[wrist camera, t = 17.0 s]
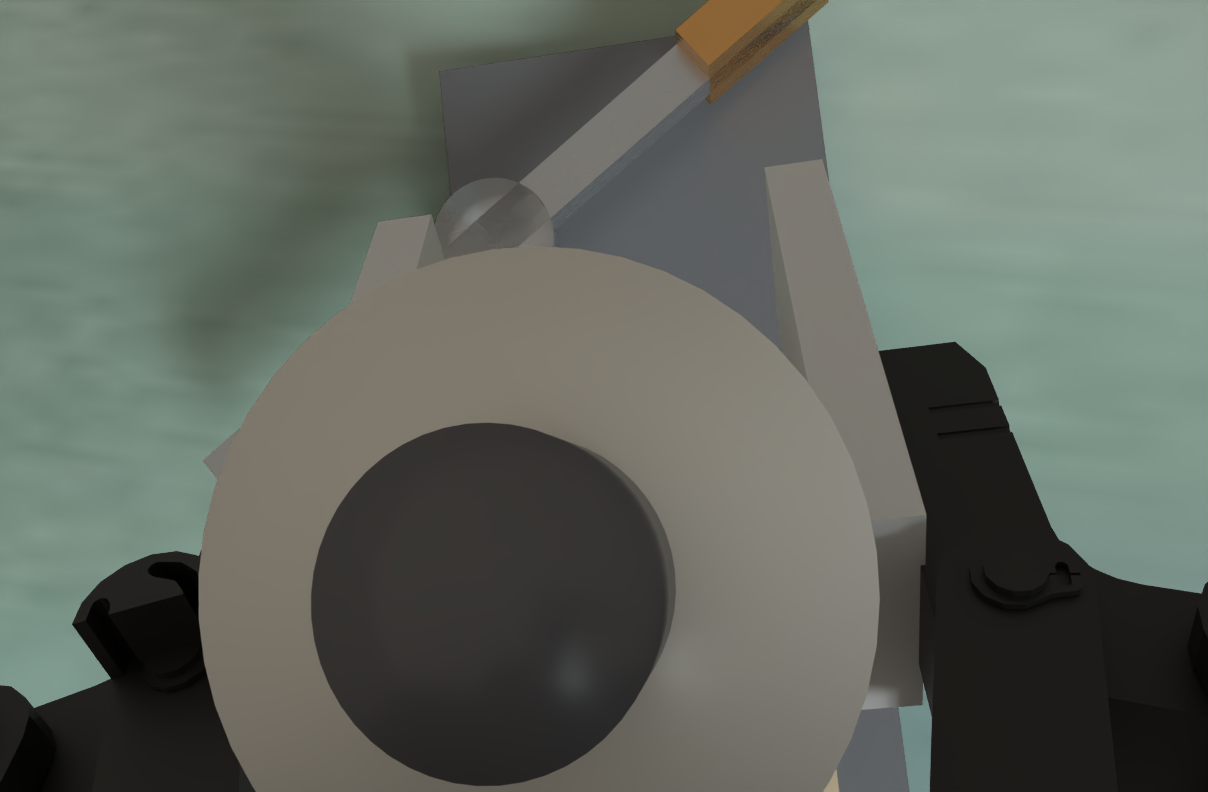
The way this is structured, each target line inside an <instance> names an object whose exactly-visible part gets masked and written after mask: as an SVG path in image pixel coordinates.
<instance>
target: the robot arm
mask: <svg viewBox="0 0 1208 792" xmlns="http://www.w3.org/2000/svg"><path fill="white" fill-rule="evenodd" d="M764 169H765V181H766V193H767V205H768V217H769V229H770V241H771V253H772V265H773V276H774V288H775V300H776V312H777V324H778V334H779V340H780V345H781V351H782V353H783V354H784V355H785V357H786V358H787V359H788V360H789V361H790V362H791V363H792V364H793V366H794V367H795V368H796V369H797V370H798V371H799V372H800V374H801V375H802V376H803V377H804V378H805V379H806V381H807V382H808V384H809V385H810V387H811V388H812V390H813V391H814V393H815V394H816V396H817V397H818V399H819V400H820V402H821V403H822V405H823V406H824V407H825V409H826V410H827V412H828V413H829V415H830V416H831V418H832V420H833V422H834V424H835V426H836V428H837V430H838V432H839V434H840V436H841V438H842V440H843V442H844V444H845V446H846V448H847V450H848V452H849V454H850V456H851V458H852V461H853V463H854V466H855V469H856V472H857V475H858V478H859V481H860V484H861V487H862V490H863V493H864V496H865V499H866V502H867V505H868V510H869V515H870V520H871V525H872V530H873V535H874V540H875V545H876V550H877V562H878V578H879V593H880V604H879V619H878V634H877V647H876V652H875V657H874V662H873V667H872V672H871V677H870V682H869V687H868V692H867V695H866V698H865V701H864V704H863V707H862V710H867V709H879V708H891V707H903V706H915V705H922V700H923V683H924V687H925V691H926V695H927V699H928V703H929V707H930V711H931V715H932V738H931V770H930V792H1208V582H1207V583H1206V584H1205V586H1204V589H1203V592H1202V594H1200V593H1194V592H1187V591H1181V590H1174V589H1167V588H1161V587H1154V586H1148V585H1142V584H1138V583H1133V582H1129V581H1125V580H1121V579H1117V578H1115V577H1112V576H1110V575H1107V574H1105V573H1103V572H1100V571H1098V570H1095V569H1093V568H1092V567H1090V566H1089V565H1088V564H1087V563H1086V562H1085V561H1084V560H1083V559H1082V558H1081V557H1080V556H1079V555H1078V554H1077V553H1076V552H1075V551H1074V550H1073V549H1072V548H1071V547H1070V546H1069V545H1068V544H1066V543H1064V542H1062V541H1060V540H1059V539H1058V538H1057V536H1056V534H1055V533H1054V531H1053V529H1052V528H1051V526H1050V523H1049V521H1048V518H1047V516H1046V514H1045V511H1044V509H1043V506H1042V504H1041V501H1040V499H1039V496H1038V494H1037V492H1036V489H1035V487H1034V484H1033V482H1032V479H1031V477H1030V475H1029V472H1028V470H1027V467H1026V465H1025V462H1024V460H1023V458H1022V455H1021V453H1020V450H1019V448H1018V445H1017V443H1016V441H1015V438H1014V436H1013V433H1012V432H1010V429H1009V424H1008V421H1007V419H1006V416H1005V414H1004V411H1003V409H1002V407H1001V406H999V399H998V397H997V394H996V392H995V390H994V387H993V385H992V382H991V380H990V377H989V375H988V372H987V370H986V368H985V367H984V366H983V365H982V364H981V363H979V362H978V361H977V360H976V359H975V358H974V357H972V356H971V355H970V354H969V353H968V352H967V351H965V350H964V349H963V348H962V347H961V346H959V345H958V344H957V343H956V342H950V343H942V344H933V345H925V346H917V347H909V348H900V349H892V350H884V351H878V348H877V344H876V341H875V338H874V334H873V331H872V327H871V324H870V321H869V317H868V314H867V310H866V307H865V304H864V300H863V297H862V293H861V290H860V287H859V283H858V280H857V276H856V273H855V270H854V266H853V263H852V259H851V256H850V253H849V249H848V246H847V242H846V239H845V235H844V232H843V229H842V225H841V222H840V218H839V215H838V212H837V208H836V205H835V201H834V198H833V195H832V191H831V188H830V184H829V181H828V178H827V174H826V171H825V167H824V164H823V161H822V159H820V160H812V161H805V162H798V163H791V164H784V165H777V166H770V167H764ZM443 260H445V258H444V255H443V251H442V248H441V245H440V241H439V238H438V235H437V231H436V228H435V225H434V221H433V218H432V215H431V214H430V215H423V216H416V217H409V218H402V219H395V220H388V221H381V222H378V224H377V227H376V230H375V233H374V236H373V238H372V241H371V244H370V247H369V250H368V253H367V256H366V259H365V262H364V265H363V267H362V270H361V273H360V276H359V279H358V282H357V285H356V288H355V291H354V294H353V296H352V299H351V302H350V305H351V304H352V303H354V302H355V301H357V300H359V299H360V298H362V297H363V296H365V295H366V294H368V293H369V292H371V291H372V290H374V289H376V288H378V287H380V286H382V285H384V284H386V283H388V282H390V281H392V280H394V279H396V278H398V277H401V276H403V275H405V274H407V273H409V272H411V271H414V270H417V269H420V268H422V267H425V266H428V265H431V264H434V263H437V262H440V261H443ZM201 551H202V550H201ZM200 559H201V552H200V555H199V556H197V555H192V554H187V553H183V552H178V551H175V552H168V553H160V554H152V555H149V556H147V557H144V558H142V559H139V560H137V561H134V562H132V563H129V564H127V565H125V566H123V567H122V568H120V569H119V570H117V571H116V572H114V573H113V574H112V575H110V576H109V577H107V578H106V579H104V580H103V581H101V582H100V583H99V584H98V585H97V586H96V588H95V589H94V590H93V591H92V592H91V593H90V594H89V595H88V596H87V598H86V599H85V600H84V601H83V602H82V604H81V606H80V608H79V610H78V612H77V615H76V617H75V619H74V621H73V623H72V625H73V626H74V628H75V629H76V630H77V632H78V633H79V635H80V636H81V637H82V639H83V640H84V642H85V643H86V644H87V646H88V647H89V648H90V650H91V651H92V653H93V654H94V655H95V657H96V658H97V660H98V661H99V662H100V664H101V665H102V667H103V668H104V669H105V671H106V672H107V673H108V675H109V676H110V678H111V679H109V680H107V681H105V682H103V683H100V684H98V685H96V686H93V687H91V688H88V689H85V690H83V691H80V692H77V693H74V694H72V695H69V696H66V697H63V698H61V699H58V700H55V701H52V702H50V703H47V704H44V705H41V706H39V707H36V708H33V706H32V705H31V704H30V703H29V701H28V700H27V699H26V698H25V697H24V696H23V695H22V694H20V693H19V692H18V691H16V690H15V689H14V688H12V687H10V686H1V685H0V792H256V791H255V790H254V788H253V787H252V785H251V783H250V781H249V779H248V777H247V776H246V774H245V772H244V770H243V768H242V766H241V765H240V763H239V761H238V759H237V757H236V755H235V753H234V752H233V750H232V748H231V745H230V743H229V740H228V738H227V735H226V733H225V730H224V728H223V725H222V722H221V720H220V717H219V715H218V712H217V710H216V707H215V704H214V700H213V696H212V692H211V688H210V684H209V680H208V676H207V672H206V668H205V664H204V657H203V649H202V641H201V633H200V625H199V567H200Z"/></svg>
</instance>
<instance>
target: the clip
mask: <svg viewBox="0 0 1208 792" xmlns="http://www.w3.org/2000/svg"><path fill="white" fill-rule="evenodd" d="M827 3H828V0H709V1H708V2H706V3H705V4H704V5H703V6H702V7H701V8H700V9H698V10H697V11H696V12H695V13H694V14H693V15H692V16H691V17H689V18H688V19H687V20H686V21H685V22H684V23H683V24H681V25H680V26H679V27H678V28H677V29H676V30H675V32H676V41H677V44H676V45H675V46H674V47H673V48H672V49H671V50H669V51H668V52H667V53H666V54H665V55H664V56H663V57H661V58H660V59H659V60H658V61H657V62H656V63H655V64H653V65H652V66H651V67H650V68H649V69H648V70H647V71H645V72H644V73H643V74H642V75H641V76H640V77H639V78H638V79H636V80H635V81H634V82H633V83H632V84H631V85H630V86H628V87H627V88H626V89H625V90H624V91H623V92H622V93H620V94H619V95H618V96H617V97H616V98H615V99H614V100H613V101H611V102H610V103H609V104H608V105H607V106H606V107H605V108H603V109H602V110H601V111H600V112H599V113H598V114H597V115H595V116H594V117H593V118H592V119H591V120H590V121H589V122H587V123H586V124H585V125H584V126H583V127H582V128H581V129H580V130H578V131H577V132H576V133H575V134H574V135H573V136H572V137H570V138H569V139H568V140H567V141H566V142H565V143H564V144H562V145H561V146H560V147H559V148H558V149H557V150H556V151H555V152H553V153H552V154H551V155H550V156H549V157H548V158H547V159H545V160H544V161H543V162H542V163H541V164H540V165H539V166H537V167H536V168H535V169H534V170H533V171H532V172H531V173H529V174H528V175H527V176H526V177H525V178H524V179H523V180H522V181H520V182H519V183H518V182H515V181H513V180H509V179H504V178H486V179H481V180H477V181H474V182H472V183H469V184H467V185H465V186H463V187H462V188H460V189H459V190H458V191H456V192H455V193H454V194H453V195H452V196H451V197H450V198H449V199H448V200H447V201H446V202H445V204H444V205H443V207H442V208H441V210H440V212H439V214H438V216H437V218H436V221H435V224H434V225H435V228H436V231H437V235H438V238H439V241H440V245H441V248H442V251H443V255H444V258H445V260H446V259H449V258H452V257H457V256H462V255H467V254H472V253H477V252H482V251H487V250H491V249H503V248H517V247H531V246H542V247H559V237H558V232H557V228H558V227H559V226H560V225H561V224H562V223H563V222H565V221H566V220H567V219H568V218H569V217H570V216H571V215H573V214H574V213H575V212H576V211H577V210H578V209H579V208H581V207H582V206H583V205H584V204H585V203H586V202H587V201H589V200H590V199H591V198H592V197H593V196H594V195H595V194H597V193H598V192H599V191H600V190H601V189H602V188H603V187H605V186H606V185H607V184H608V183H609V182H610V181H611V180H612V179H614V178H615V177H616V176H617V175H618V174H619V173H620V172H622V171H623V170H624V169H625V168H626V167H627V166H628V165H630V164H631V163H632V162H633V161H634V160H635V159H636V158H638V157H639V156H640V155H641V154H642V153H643V152H644V151H646V150H647V149H648V148H649V147H650V146H651V145H652V144H654V143H655V142H656V141H657V140H658V139H659V138H660V137H662V136H663V135H664V134H665V133H666V132H667V131H668V130H669V129H671V128H672V127H673V126H674V125H675V124H676V123H677V122H679V121H680V120H681V119H682V118H683V117H684V116H685V115H687V114H688V113H689V112H690V111H691V110H692V109H693V108H695V107H696V106H697V105H698V104H699V103H700V102H701V101H703V100H704V99H705V100H706V101H707V102H708V103H709V104H710V105H712V104H713V103H714V102H715V101H716V100H717V99H718V98H720V97H721V96H722V95H723V94H724V93H725V92H726V91H728V90H729V89H730V88H731V87H732V86H733V85H734V84H736V83H737V82H738V81H739V80H740V79H741V78H742V77H744V76H745V75H746V74H747V73H748V72H749V71H750V70H751V69H753V68H754V67H755V66H756V65H757V64H758V63H759V62H761V61H762V60H763V59H764V58H765V57H766V56H767V55H769V54H770V53H771V52H772V51H773V50H774V49H775V48H777V47H778V46H779V45H780V44H781V43H782V42H783V41H785V40H786V39H787V38H788V37H789V36H790V35H791V34H793V33H794V32H795V31H796V30H797V29H798V28H799V27H801V26H802V25H803V24H804V23H805V22H806V21H807V20H808V19H810V18H811V17H812V16H813V15H814V14H815V13H816V12H818V11H819V10H820V9H821V8H822V7H823V6H824V5H826V4H827ZM239 430H240V428H239V429H238V430H237V431H236V432H235V433H234V434H233V435H231V436H230V437H229V438H228V439H227V440H226V441H225V442H224V443H222V444H221V445H220V446H219V447H218V448H217V449H216V450H214V451H213V452H212V453H211V454H210V455H209V456H208V457H206V458H205V459H204V460H203V462H204V463H205V464H206V465H207V467H208V468H209V469H210V471H211V472H212V473H213V474H214V476H215V477H216V478H217V479H218V478H219V475H220V473H221V470H222V467H223V465H224V462H225V459H226V457H227V454H228V452H229V449H230V447H231V445H232V443H233V441H234V439H235V437H236V435H237V434H238V432H239Z"/></svg>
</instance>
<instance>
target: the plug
mask: <svg viewBox="0 0 1208 792" xmlns="http://www.w3.org/2000/svg"><path fill="white" fill-rule="evenodd" d="M879 604H880V593H879V578H878V562H877V550H876V545H875V540H874V535H873V530H872V525H871V520H870V515H869V510H868V505H867V502H866V499H865V496H864V493H863V490H862V487H861V484H860V481H859V478H858V475H857V472H856V469H855V466H854V463H853V461H852V458H851V456H850V454H849V452H848V450H847V448H846V446H845V444H844V442H843V440H842V438H841V436H840V434H839V432H838V430H837V428H836V426H835V424H834V422H833V420H832V418H831V416H830V415H829V413H828V412H827V410H826V409H825V407H824V406H823V405H822V403H821V402H820V400H819V399H818V397H817V396H816V394H815V393H814V391H813V390H812V388H811V387H810V385H809V384H808V382H807V381H806V379H805V378H804V377H803V376H802V375H801V374H800V372H799V371H798V370H797V369H796V368H795V367H794V366H793V364H792V363H791V362H790V361H789V360H788V359H787V358H786V357H785V355H784V354H783V353H782V352H781V351H780V350H779V349H778V347H777V346H776V345H775V344H774V343H772V342H771V341H770V340H769V339H768V338H767V337H766V336H764V335H763V334H762V333H761V332H760V331H759V330H758V329H756V328H755V327H754V326H753V325H752V324H751V323H750V322H748V321H747V320H746V319H745V318H744V317H743V316H741V315H740V314H739V313H737V312H736V311H734V310H733V309H731V308H729V307H728V306H726V305H725V304H723V303H722V302H720V301H719V300H717V299H716V298H714V297H713V296H711V295H710V294H708V293H707V292H705V291H704V290H702V289H700V288H698V287H696V286H694V285H692V284H690V283H687V282H685V281H683V280H681V279H679V278H677V277H675V276H673V275H671V274H669V273H667V272H665V271H662V270H659V269H656V268H653V267H650V266H647V265H645V264H642V263H639V262H636V261H633V260H630V259H627V258H624V257H619V256H614V255H609V254H604V253H599V252H594V251H588V250H583V249H575V248H559V247H542V246H531V247H517V248H503V249H491V250H487V251H482V252H477V253H472V254H467V255H462V256H457V257H452V258H449V259H446V260H443V261H440V262H437V263H434V264H431V265H428V266H425V267H422V268H420V269H417V270H414V271H411V272H409V273H407V274H405V275H403V276H401V277H398V278H396V279H394V280H392V281H390V282H388V283H386V284H384V285H382V286H380V287H378V288H376V289H374V290H372V291H371V292H369V293H368V294H366V295H365V296H363V297H362V298H360V299H359V300H357V301H355V302H354V303H352V304H351V305H349V306H348V307H346V308H345V309H343V310H342V311H340V312H339V313H337V314H336V315H335V316H334V317H332V318H331V319H330V320H329V321H328V322H327V323H326V324H324V325H323V326H322V327H321V328H320V329H319V330H317V331H316V332H315V333H314V334H313V335H312V336H310V337H309V338H308V339H307V340H306V341H305V342H304V343H303V344H302V345H301V346H300V347H299V348H298V349H297V350H296V351H295V353H294V354H293V355H292V356H291V357H290V358H289V359H288V360H287V361H286V362H285V364H284V365H283V366H282V367H281V368H280V369H279V370H278V371H277V372H276V374H275V375H274V376H273V378H272V379H271V381H270V382H269V383H268V385H267V386H266V388H265V389H264V391H263V392H262V393H261V395H260V396H259V398H258V399H257V401H256V402H255V403H254V405H253V406H252V408H251V409H250V411H249V413H248V415H247V417H246V418H245V420H244V422H243V424H242V426H241V428H240V430H239V432H238V434H237V435H236V437H235V439H234V441H233V443H232V445H231V447H230V449H229V452H228V454H227V457H226V459H225V462H224V465H223V467H222V470H221V473H220V475H219V478H218V480H217V483H216V486H215V488H214V492H213V496H212V500H211V504H210V508H209V512H208V516H207V521H206V525H205V529H204V534H203V543H202V551H201V559H200V567H199V625H200V633H201V641H202V649H203V657H204V664H205V668H206V672H207V676H208V680H209V684H210V688H211V692H212V696H213V700H214V704H215V707H216V710H217V712H218V715H219V717H220V720H221V722H222V725H223V728H224V730H225V733H226V735H227V738H228V740H229V743H230V745H231V748H232V750H233V752H234V753H235V755H236V757H237V759H238V761H239V763H240V765H241V766H242V768H243V770H244V772H245V774H246V776H247V777H248V779H249V781H250V783H251V785H252V787H253V788H254V790H255V791H256V792H823V790H824V789H825V788H826V786H827V785H828V783H829V782H830V780H831V778H832V776H833V774H834V772H835V770H836V768H837V766H838V764H839V762H840V760H841V758H842V756H843V754H844V752H845V750H846V748H847V746H848V744H849V742H850V740H851V738H852V736H853V733H854V730H855V727H856V724H857V721H858V718H859V715H860V712H861V710H862V707H863V704H864V701H865V698H866V695H867V692H868V687H869V682H870V677H871V672H872V667H873V662H874V657H875V652H876V647H877V634H878V619H879Z"/></svg>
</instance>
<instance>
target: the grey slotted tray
mask: <svg viewBox="0 0 1208 792" xmlns="http://www.w3.org/2000/svg"><path fill="white" fill-rule="evenodd" d="M676 44H677V41H676V36H672V37H665V38H659V39H652V40H645V41H639V42H632V43H625V44H619V45H612V46H605V47H598V48H592V49H585V50H578V51H572V52H565V53H558V54H552V55H545V56H538V57H532V58H525V59H518V60H512V61H505V62H498V63H492V64H485V65H478V66H472V67H465V68H458V69H452V70H445V71H439V74H440V84H441V95H442V106H443V117H444V128H445V139H446V150H447V160H448V171H449V182H450V193H451V196H452V195H453V194H454V193H455V192H456V191H458V190H459V189H460V188H462V187H463V186H465V185H467V184H469V183H472V182H474V181H477V180H481V179H486V178H504V179H509V180H513V181H515V182H518V183H519V182H520V181H522V180H523V179H524V178H525V177H526V176H527V175H528V174H529V173H531V172H532V171H533V170H534V169H535V168H536V167H537V166H539V165H540V164H541V163H542V162H543V161H544V160H545V159H547V158H548V157H549V156H550V155H551V154H552V153H553V152H555V151H556V150H557V149H558V148H559V147H560V146H561V145H562V144H564V143H565V142H566V141H567V140H568V139H569V138H570V137H572V136H573V135H574V134H575V133H576V132H577V131H578V130H580V129H581V128H582V127H583V126H584V125H585V124H586V123H587V122H589V121H590V120H591V119H592V118H593V117H594V116H595V115H597V114H598V113H599V112H600V111H601V110H602V109H603V108H605V107H606V106H607V105H608V104H609V103H610V102H611V101H613V100H614V99H615V98H616V97H617V96H618V95H619V94H620V93H622V92H623V91H624V90H625V89H626V88H627V87H628V86H630V85H631V84H632V83H633V82H634V81H635V80H636V79H638V78H639V77H640V76H641V75H642V74H643V73H644V72H645V71H647V70H648V69H649V68H650V67H651V66H652V65H653V64H655V63H656V62H657V61H658V60H659V59H660V58H661V57H663V56H664V55H665V54H666V53H667V52H668V51H669V50H671V49H672V48H673V47H674V46H675V45H676ZM820 159H822V161H823V164H824V167H825V171H826V174H827V178H828V181H829V177H828V170H827V162H826V155H825V147H824V139H823V132H822V124H821V117H820V109H819V101H818V94H817V86H816V79H815V71H814V63H813V56H812V48H811V41H810V33H809V25H808V20H807V21H806V22H805V23H804V24H803V25H802V26H801V27H799V28H798V29H797V30H796V31H795V32H794V33H793V34H791V35H790V36H789V37H788V38H787V39H786V40H785V41H783V42H782V43H781V44H780V45H779V46H778V47H777V48H775V49H774V50H773V51H772V52H771V53H770V54H769V55H767V56H766V57H765V58H764V59H763V60H762V61H761V62H759V63H758V64H757V65H756V66H755V67H754V68H753V69H751V70H750V71H749V72H748V73H747V74H746V75H745V76H744V77H742V78H741V79H740V80H739V81H738V82H737V83H736V84H734V85H733V86H732V87H731V88H730V89H729V90H728V91H726V92H725V93H724V94H723V95H722V96H721V97H720V98H718V99H717V100H716V101H715V102H714V103H713V104H712V105H710V104H709V103H708V102H707V101H706V100H705V99H704V100H703V101H701V102H700V103H699V104H698V105H697V106H696V107H695V108H693V109H692V110H691V111H690V112H689V113H688V114H687V115H685V116H684V117H683V118H682V119H681V120H680V121H679V122H677V123H676V124H675V125H674V126H673V127H672V128H671V129H669V130H668V131H667V132H666V133H665V134H664V135H663V136H662V137H660V138H659V139H658V140H657V141H656V142H655V143H654V144H652V145H651V146H650V147H649V148H648V149H647V150H646V151H644V152H643V153H642V154H641V155H640V156H639V157H638V158H636V159H635V160H634V161H633V162H632V163H631V164H630V165H628V166H627V167H626V168H625V169H624V170H623V171H622V172H620V173H619V174H618V175H617V176H616V177H615V178H614V179H612V180H611V181H610V182H609V183H608V184H607V185H606V186H605V187H603V188H602V189H601V190H600V191H599V192H598V193H597V194H595V195H594V196H593V197H592V198H591V199H590V200H589V201H587V202H586V203H585V204H584V205H583V206H582V207H581V208H579V209H578V210H577V211H576V212H575V213H574V214H573V215H571V216H570V217H569V218H568V219H567V220H566V221H565V222H563V223H562V224H561V225H560V226H559V227H558V228H557V232H558V237H559V248H575V249H583V250H588V251H594V252H599V253H604V254H609V255H614V256H619V257H624V258H627V259H630V260H633V261H636V262H639V263H642V264H645V265H647V266H650V267H653V268H656V269H659V270H662V271H665V272H667V273H669V274H671V275H673V276H675V277H677V278H679V279H681V280H683V281H685V282H687V283H690V284H692V285H694V286H696V287H698V288H700V289H702V290H704V291H705V292H707V293H708V294H710V295H711V296H713V297H714V298H716V299H717V300H719V301H720V302H722V303H723V304H725V305H726V306H728V307H729V308H731V309H733V310H734V311H736V312H737V313H739V314H740V315H741V316H743V317H744V318H745V319H746V320H747V321H748V322H750V323H751V324H752V325H753V326H754V327H755V328H756V329H758V330H759V331H760V332H761V333H762V334H763V335H764V336H766V337H767V338H768V339H769V340H770V341H771V342H772V343H774V344H775V345H776V346H777V347H778V349H779V350H780V351H781V345H780V340H779V334H778V324H777V312H776V300H775V288H774V276H773V265H772V253H771V241H770V229H769V217H768V205H767V193H766V181H765V169H764V167H770V166H777V165H784V164H791V163H798V162H805V161H812V160H820ZM781 352H782V351H781ZM823 792H909V785H908V777H907V770H906V762H905V755H904V747H903V739H902V732H901V724H900V717H899V709H898V707H891V708H879V709H867V710H861V712H860V715H859V718H858V721H857V724H856V727H855V730H854V733H853V736H852V738H851V740H850V742H849V744H848V746H847V748H846V750H845V752H844V754H843V756H842V758H841V760H840V762H839V764H838V766H837V768H836V770H835V772H834V774H833V776H832V778H831V780H830V782H829V783H828V785H827V786H826V788H825V789H824V790H823Z"/></svg>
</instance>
